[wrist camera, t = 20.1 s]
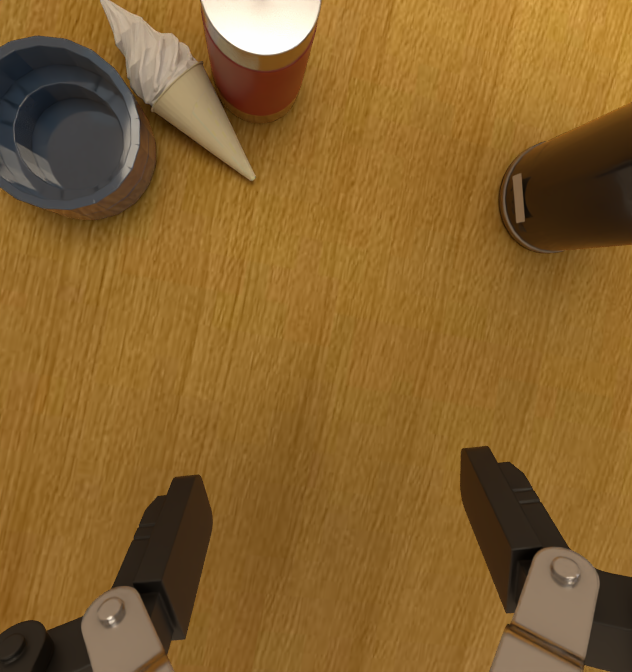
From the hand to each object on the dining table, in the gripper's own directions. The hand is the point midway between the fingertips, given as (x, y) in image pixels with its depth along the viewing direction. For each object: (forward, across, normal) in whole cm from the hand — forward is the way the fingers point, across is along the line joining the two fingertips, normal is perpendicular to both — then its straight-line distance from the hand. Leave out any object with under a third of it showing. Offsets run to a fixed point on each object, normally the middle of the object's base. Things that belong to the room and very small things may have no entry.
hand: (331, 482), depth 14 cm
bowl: (+26, +16, -10) cm, 33 cm away
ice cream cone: (+26, +4, -6) cm, 28 cm away
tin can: (+30, +3, -14) cm, 33 cm away
